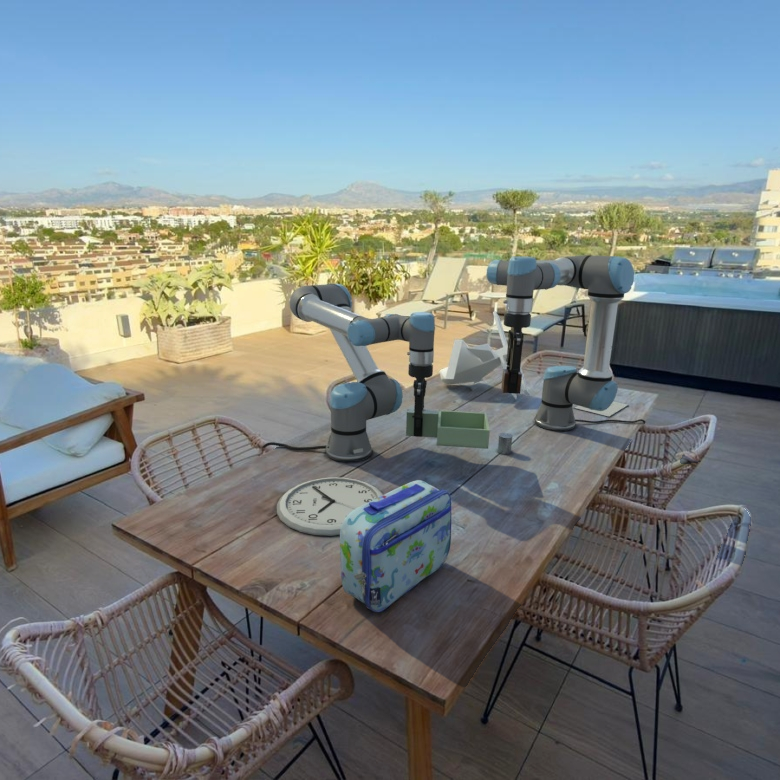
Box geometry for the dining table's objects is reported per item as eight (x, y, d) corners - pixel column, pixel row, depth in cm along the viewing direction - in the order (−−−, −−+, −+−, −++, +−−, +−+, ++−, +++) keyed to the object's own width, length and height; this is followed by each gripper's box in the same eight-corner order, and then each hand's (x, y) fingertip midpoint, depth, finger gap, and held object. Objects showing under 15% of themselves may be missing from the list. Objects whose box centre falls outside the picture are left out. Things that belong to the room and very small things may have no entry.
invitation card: (608, 416, 214) (573, 407, 224) (608, 416, 214) (573, 408, 224) (628, 404, 229) (594, 396, 238) (628, 405, 229) (594, 397, 238)
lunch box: (369, 626, 100) (370, 530, 93) (334, 598, 107) (332, 507, 101) (455, 567, 117) (460, 483, 111) (419, 547, 124) (423, 467, 118)
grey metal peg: (510, 449, 181) (511, 433, 179) (511, 454, 177) (512, 438, 175) (497, 448, 181) (498, 432, 180) (498, 453, 177) (499, 437, 175)
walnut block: (517, 388, 158) (519, 369, 157) (520, 393, 154) (522, 374, 152) (501, 388, 159) (502, 369, 157) (502, 393, 154) (504, 373, 152)
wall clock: (392, 527, 129) (268, 531, 127) (391, 533, 130) (269, 537, 127) (383, 473, 158) (282, 475, 155) (383, 478, 158) (282, 480, 156)
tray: (485, 429, 173) (487, 407, 171) (488, 448, 158) (490, 424, 156) (408, 425, 176) (409, 402, 174) (404, 443, 161) (404, 419, 159)
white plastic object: (461, 429, 252) (437, 405, 227) (444, 352, 274) (420, 323, 250) (535, 404, 240) (518, 377, 215) (510, 326, 262) (492, 293, 237)
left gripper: (410, 356, 169) (408, 424, 176) (406, 369, 154) (404, 443, 161) (434, 357, 168) (431, 425, 175) (431, 370, 153) (428, 444, 160)
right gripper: (501, 307, 158) (495, 381, 165) (508, 316, 141) (500, 398, 148) (526, 308, 158) (519, 382, 164) (536, 318, 140) (527, 400, 147)
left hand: (418, 433), depth 168 cm, fingers closed on tray, 3 cm apart
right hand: (510, 390), depth 156 cm, fingers closed on walnut block, 5 cm apart
